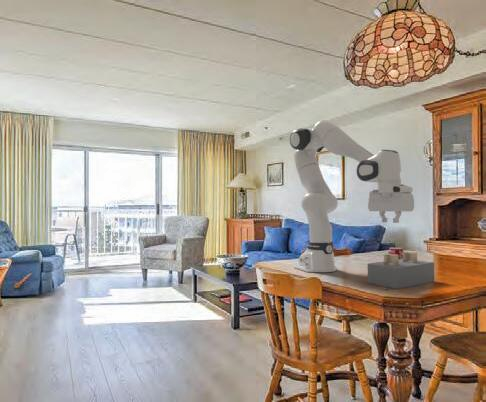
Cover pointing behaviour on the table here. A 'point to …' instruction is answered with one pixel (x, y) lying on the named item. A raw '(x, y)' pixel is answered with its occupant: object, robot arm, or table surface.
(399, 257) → the soda can
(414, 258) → the peg
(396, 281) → the block
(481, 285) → the table surface
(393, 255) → the peg
